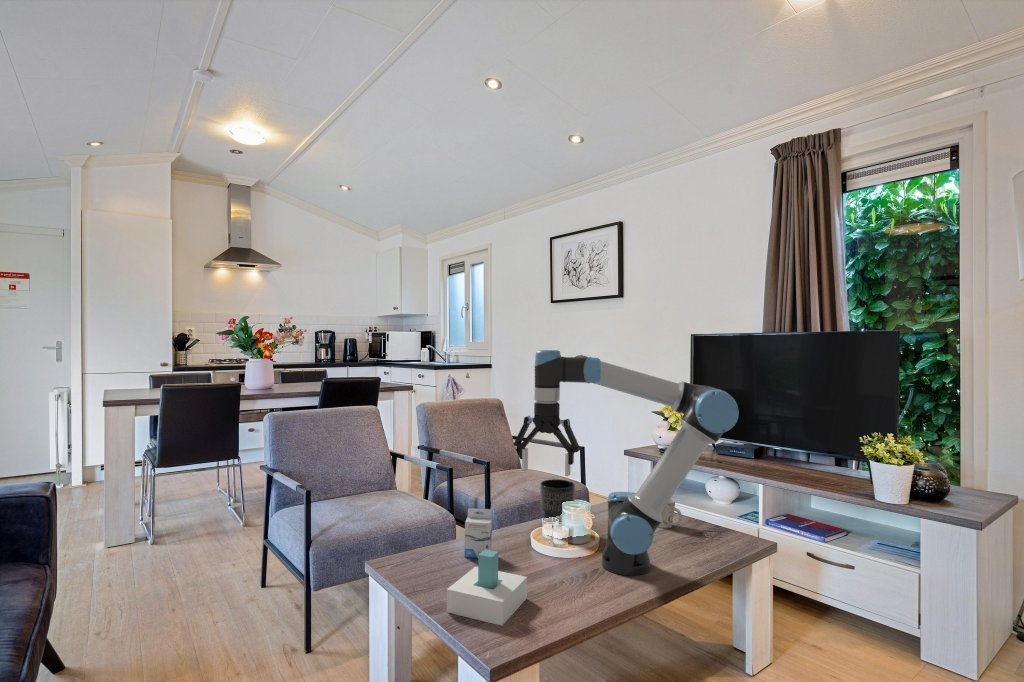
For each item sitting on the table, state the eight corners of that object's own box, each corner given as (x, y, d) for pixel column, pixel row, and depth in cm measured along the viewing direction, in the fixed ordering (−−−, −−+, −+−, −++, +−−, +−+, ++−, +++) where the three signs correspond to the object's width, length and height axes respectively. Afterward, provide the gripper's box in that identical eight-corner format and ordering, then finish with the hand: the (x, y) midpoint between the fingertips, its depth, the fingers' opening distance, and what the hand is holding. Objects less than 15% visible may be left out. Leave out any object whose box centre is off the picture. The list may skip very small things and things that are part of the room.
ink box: (463, 557, 181) (464, 512, 181) (466, 551, 186) (467, 507, 186) (489, 559, 180) (490, 513, 180) (491, 553, 185) (492, 508, 185)
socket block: (526, 598, 153) (526, 576, 153) (502, 625, 139) (502, 601, 139) (475, 587, 160) (475, 566, 160) (446, 612, 145) (447, 589, 145)
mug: (661, 520, 220) (661, 495, 220) (688, 529, 211) (689, 503, 211) (648, 525, 215) (648, 499, 215) (676, 534, 205) (676, 507, 205)
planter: (537, 525, 213) (538, 479, 213) (571, 525, 214) (571, 479, 214) (541, 537, 200) (542, 488, 200) (577, 537, 201) (578, 488, 201)
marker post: (497, 603, 150) (498, 551, 150) (491, 610, 147) (492, 557, 146) (484, 600, 152) (485, 549, 152) (477, 606, 148) (478, 554, 148)
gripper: (591, 402, 164) (590, 474, 164) (513, 398, 174) (512, 465, 174) (583, 405, 157) (582, 480, 157) (503, 400, 167) (502, 470, 167)
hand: (545, 472), depth 166 cm, fingers open, 13 cm apart
